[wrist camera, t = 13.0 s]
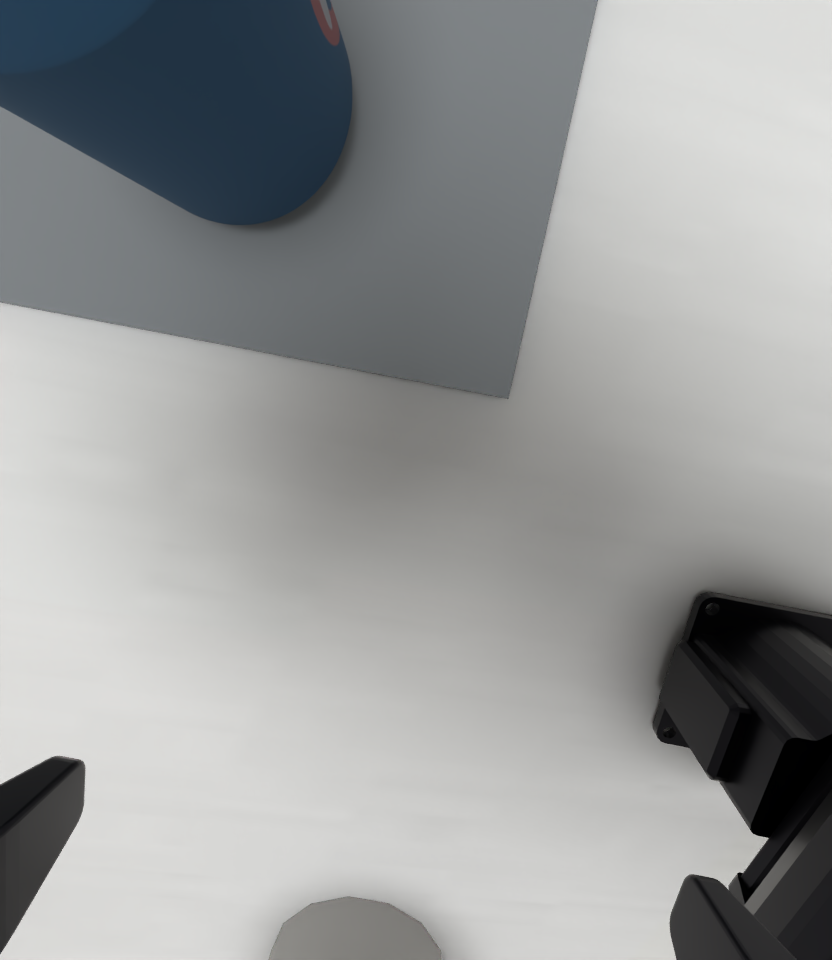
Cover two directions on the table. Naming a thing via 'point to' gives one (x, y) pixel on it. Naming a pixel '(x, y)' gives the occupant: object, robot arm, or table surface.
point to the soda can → (187, 94)
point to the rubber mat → (339, 208)
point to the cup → (353, 933)
